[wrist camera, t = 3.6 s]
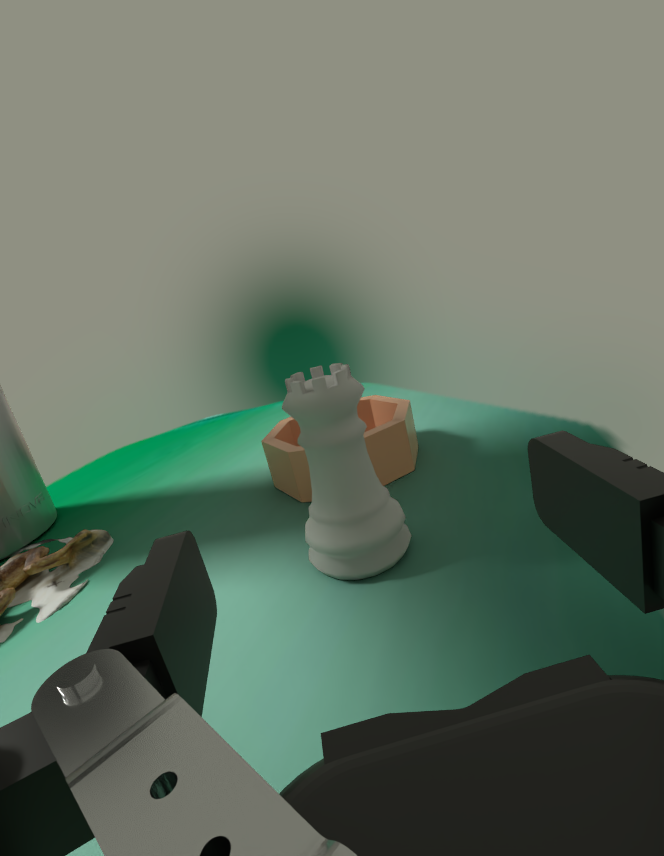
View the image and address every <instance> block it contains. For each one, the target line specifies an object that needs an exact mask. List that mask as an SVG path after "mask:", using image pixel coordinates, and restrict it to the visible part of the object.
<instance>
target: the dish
mask: <svg viewBox="0 0 664 856" xmlns="http://www.w3.org/2000/svg"><path fill="white" fill-rule="evenodd" d="M357 414H358V417H359V418H360V419H361V420H362V421H364V422H365V423H366V426H367V427H366V430H365V432H364V434H363V435H364V440H365V444H366V448H367V452H368V455H369V457H370V460H371V463H372V465H373V468H374V471H375V473H376V475H377V477H378V479H379V481H380V483H381V484H382V486H384V485H386V484H388V483H390V482H392V481H394V480H396V479H398V478H400V477H402V476H404V475H406V474H408V473H410V472H412V471H414V470H415V465H416V459H417V453H418V441H417V435H416V430H415V425H414V420H413V415H412V410H411V404H410V400H404V399H397V398H391V397H384V396H378V395H373V396H367V397H361V398H360V401H359V403H358V405H357ZM300 433H301V431H300V427H299V424H298V422H297V421H296V420H295V419H294V418H292V417H289V418H287V419H284V420H282V421H280V422H279V423H278V424H277V425H276V426H275V427H274V428H273V429H272V430H271V431H270V432H269V434H268V435H267V436H266V437H265V438H264V439H263V440H262V441H261V442H262V445H263V448H264V452H265V455H266V459H267V462H268V465H269V469H270V472H271V476H272V479H273V482H274V486H275V487H276V488H278V489H279V490H281V491H283V492H285V493H286V494H288V495H290V496H291V497H293V498H295V499H297V500H298V501H300V502H312V487H311V479H310V470H309V464H308V460H307V457H306V453H305V449H304V448H303V447H301V446H300V445H299V444H298V437H299V435H300Z"/></svg>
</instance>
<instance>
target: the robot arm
mask: <svg viewBox="0 0 664 856" xmlns="http://www.w3.org/2000/svg"><path fill="white" fill-rule="evenodd" d="M528 456H529V465H530V473H531V481H532V490H533V498H534V504H535V507H536V510H537V513H538V515H539V517H540V519H541V520H542V522H543V523H544V524H545V525H546V526H547V527H548V528H549V529H550V530H551V531H552V532H553V533H554V534H556V535H557V536H558V537H559V538H560V539H561V540H562V541H564V542H565V543H566V544H567V545H568V546H569V547H570V548H571V549H573V550H574V551H575V552H576V553H577V554H578V555H579V556H580V557H582V558H583V559H584V560H585V561H586V562H587V563H588V564H589V565H591V566H592V567H593V568H594V569H595V570H596V571H597V572H598V573H600V574H601V575H602V576H603V577H604V578H605V579H606V580H607V581H609V582H610V583H611V584H612V585H613V586H614V587H615V588H616V589H618V590H619V591H620V592H621V593H622V594H623V595H624V596H626V597H627V598H628V599H629V600H630V601H631V602H632V603H633V604H635V605H636V606H637V607H638V608H639V609H640V610H641V611H642V612H644V613H645V614H646V613H649V612H653V611H656V610H660V609H663V608H664V473H663V472H661V471H659V470H657V469H655V468H653V467H651V466H650V467H648V466H647V464H645V463H643V462H641V461H639V460H637V459H635V460H633V458H632V457H630V456H628V455H626V454H624V453H622V452H620V451H618V450H616V449H613V448H608V447H603V446H599V445H594V444H589V443H587V442H585V441H583V440H581V439H579V438H577V437H576V436H574V435H572V434H570V433H568V432H566V431H559V432H555V433H552V434H548V435H544V436H540V437H537V438H533V439H531V440H530V441H529V443H528ZM56 518H57V511H56V509H55V506H54V504H53V502H52V500H51V497H50V495H49V493H48V491H47V489H46V486H45V484H44V482H43V480H42V477H41V475H40V473H39V471H38V468H37V466H36V464H35V461H34V459H33V457H32V454H31V452H30V450H29V448H28V445H27V443H26V441H25V439H24V437H23V434H22V432H21V430H20V428H19V426H18V423H17V421H16V419H15V417H14V414H13V412H12V410H11V408H10V406H9V403H8V401H7V399H6V397H5V394H4V392H3V390H2V388H1V385H0V559H2V558H4V557H6V556H8V555H9V554H11V553H13V552H15V551H16V550H18V549H20V548H22V547H23V546H25V545H26V544H28V543H30V542H31V541H33V540H34V539H36V538H37V537H38V536H40V535H41V534H42V533H43V532H45V531H46V530H47V529H48V528H49V527H50V526H51V525H52V524H53V523H54V521H55V519H56ZM106 613H107V615H104V617H103V620H102V622H101V624H100V626H99V628H98V630H97V632H96V634H95V636H94V638H93V640H92V642H91V644H90V646H89V648H88V651H87V653H86V654H84V655H81V656H79V657H77V658H75V659H73V660H72V661H70V662H68V663H67V664H65V665H64V666H62V667H61V668H59V669H58V670H57V671H56V672H54V673H53V674H52V675H51V676H50V677H49V678H48V679H47V680H46V681H45V682H44V683H43V684H42V685H41V687H40V688H39V690H38V691H37V692H36V694H35V696H34V698H33V701H32V706H31V710H32V712H30V713H29V714H27V715H25V716H23V717H21V718H19V719H17V720H15V721H13V722H11V723H9V724H7V725H5V726H3V727H1V728H0V856H65V855H67V854H69V853H70V852H72V851H74V850H75V849H77V848H78V847H80V846H82V845H83V844H85V843H87V842H88V841H90V840H92V839H93V838H96V840H97V842H98V844H99V846H100V848H101V850H102V852H103V854H104V856H664V680H659V679H655V678H648V677H640V676H627V675H606V673H605V672H604V671H603V670H602V669H601V668H600V666H599V665H598V664H597V663H596V662H595V661H594V659H593V658H592V657H591V656H590V655H586V656H583V657H580V658H576V659H573V660H569V661H566V662H563V663H559V664H556V665H552V666H549V667H545V668H542V669H539V670H535V671H532V672H528V673H525V674H523V675H521V676H520V677H518V678H516V679H515V680H513V681H511V682H509V683H508V684H506V685H504V686H503V687H501V688H499V689H497V690H496V691H494V692H492V693H491V694H489V695H487V696H486V697H484V698H482V699H480V700H479V701H477V702H475V703H474V704H472V705H470V706H468V707H466V708H462V709H456V710H439V711H422V712H406V713H389V714H385V715H382V716H378V717H375V718H371V719H368V720H364V721H361V722H358V723H354V724H351V725H347V726H344V727H341V728H337V729H334V730H330V731H327V732H323V733H321V739H322V748H323V756H324V759H322V760H320V761H319V762H317V763H315V764H314V765H312V766H311V767H309V768H308V769H307V770H305V771H304V772H303V773H301V774H300V775H299V776H297V777H296V778H295V779H294V780H293V781H292V782H291V783H290V784H289V785H287V786H286V787H285V788H284V789H283V790H282V791H281V792H280V794H278V793H277V792H276V791H275V790H274V789H273V788H272V787H271V786H270V785H269V784H268V783H267V782H266V781H265V780H264V779H263V778H262V777H261V776H260V775H259V774H258V773H257V772H256V771H255V770H254V769H253V768H252V767H251V766H250V765H249V764H248V763H247V762H246V761H245V760H244V759H243V758H242V757H241V756H240V755H239V754H238V753H237V752H236V751H235V750H234V749H233V748H232V747H231V746H230V745H229V744H228V743H227V742H226V741H225V740H224V739H223V738H222V737H221V736H220V735H219V734H218V733H217V732H216V731H215V730H214V729H213V728H212V727H211V726H210V725H209V724H208V723H207V722H206V721H205V720H204V719H203V718H202V711H203V704H204V697H205V691H206V684H207V677H208V671H209V664H210V657H211V651H212V644H213V637H214V631H215V624H216V617H217V606H216V599H215V594H214V590H213V587H212V584H211V582H210V579H209V576H208V573H207V571H206V568H205V565H204V562H203V559H202V557H201V554H200V551H199V548H198V546H197V543H196V540H195V538H194V536H193V534H192V533H191V532H190V531H189V530H188V531H184V532H181V533H177V534H173V535H170V536H166V537H162V538H158V539H156V540H155V541H154V543H153V546H152V548H151V550H150V553H149V555H148V557H147V560H146V562H145V564H144V565H140V566H137V567H135V568H134V569H133V570H132V571H131V572H130V573H129V574H128V575H127V576H126V577H125V578H124V579H123V581H122V582H121V583H120V584H119V586H118V589H117V591H116V593H115V595H114V597H113V601H112V602H111V603H110V605H109V607H108V609H107V611H106Z"/></svg>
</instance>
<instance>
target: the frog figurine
mask: <svg viewBox="0 0 664 856" xmlns="http://www.w3.org/2000/svg"><path fill="white" fill-rule="evenodd" d="M54 540H58V541H60V542H64V543H66V546H64V547H63V548H62V549H60V550H58V551H57V552H55V553H52V554H50V555H48V553H49V548H46V547H44V546H41V547H37V546H39V545H41V544H43V543H47V542H51V541H54ZM112 543H113V538H112V537H111V536H110V534H109V533H108V532H107V531H105V530H97V529H96V530H90V531H89V530H83V531H81V532H79V533H78V534H77V535H76V536H75V537H74V538H72V537H68V538H66V539H49V540H44V541H41V542H39V543H36V544H32V545H28V546H23V547H22V548H20V549H18V550H16V551H15V552H13V553H11V554H9V555H8V556H6V557H4V558H7V557H10V556H13V555H15V554H16V555H15V556H13V557H11V558H10V559H8V561H6V562H5V563H4V564H3V565H2V566H0V616H1V615H2V614H3V612H4V611H5V609H6V608H9V607H12V606H15V605H18V604H21V603H24V602H27V601H29V600H32V604H31V605H32V607H36V608H39V609H40V611H39V614H38V616H37V619H36V622H37V623H39V622H41V621H43V620H45V619H46V618H48V617H49V616H51V615H52V614H53V613H55V612H56V611H57V610H59V609H60V608H61V607H63V606H64V605H65V604H67V603H68V602H69V601H70V600H71V599H72V598H73V597H74V596H75V595H76V594H77V593H78V592H79V591H80V590H81V589H82V588H83V587H84V585H85V584H86V583H87V581H88V580H86V581H85V582H84V583H82V584H79V585H77V586H75V587H72V588H70V585H71V583H72V582H74V581H75V580H76V579H77V578H78V577H79V576H77V575H78V574H79V573H81V572H83V571H85V570H87V569H89V568H90V567H92V566H94V565H96V564H97V563H99V562H100V561H101V558H102V557H103V554H105V553H106V551H107V550H108V549H109V547H110V546H111V545H112ZM34 547H37V548H34ZM31 548H33V549H31ZM28 549H30V550H28ZM23 550H28V551H26V552H24V553H20V552H22V551H23ZM18 553H20V554H18ZM47 555H48V556H47ZM4 558H2V559H4ZM0 560H1V559H0ZM57 566H58V567H57ZM54 567H57V568H56V569H55V570H53V571H52V572H49V569H51V568H54ZM22 620H23V618H21V619H19V620H18V621H16V622H14V623H11V624H4V625H0V643H1V642H4V641H5V640H6V639H7V637H8V636H9V635H10V634H11V633H12V631H13V628H14V626H15V625H16V624H18V623H19V622H21V621H22Z"/></svg>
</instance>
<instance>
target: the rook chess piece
mask: <svg viewBox="0 0 664 856" xmlns="http://www.w3.org/2000/svg"><path fill="white" fill-rule="evenodd" d="M330 370H331V375H326V376H324V373H323V369H322V366H318V367H314V368H310V371H311V375H312V379H310V380H308V381H305V379H304V375H303V373H302V372H298V373H296V374H293V375H291V378H289V379H285V383H286V387H287V391H288V393H287V395H286V398H285V400H284V402H283V405H282V409H283V410H284V411H285V412H286V413H287V414H289V415H290V416H291V417H292V418H294V419H295V420H296V421H297V422H298V424H299V427H300V431H301V433H300V435H299V437H298V444H299V445H300V446H301V447H303V448H304V449H305V453H306V457H307V460H308V464H309V470H310V479H311V487H312V503H311V505H310V506H309V516H310V517H309V518H308V520H307V522H306V523H305V542H306V543H307V544H308V545H309V546H310V548H309V561H310V562H311V563H312V564H313V565H314V566H315V567H316V568H317V569H318V570H319V571H321V572H322V573H324V574H325V575H327V576H330V577H333V578H336V579H339V580H360V579H364V578H368V577H372V576H376V575H378V574H380V573H382V572H384V571H386V570H388V569H390V568H392V567H393V566H394V565H395V564H396V563H397V562H398V561H399V560H400V559H401V558H402V557H403V555H404V553H405V551H406V550H407V548H408V545H409V542H410V539H411V533H410V531H409V529H408V526H407V525H405V524H404V521H405V518H406V517H405V514H404V512H403V510H402V508H401V506H400V504H399V502H398V501H397V500H395V499H394V498H392V497H390V493H389V491H388V489H387V488H386V487H384V486H382V484H381V483H380V481H379V479H378V477H377V475H376V473H375V471H374V468H373V465H372V463H371V460H370V457H369V455H368V452H367V448H366V444H365V440H364V435H363V434H364V432H365V430H366V427H367V426H366V423H365V422H364V421H362V420H361V419H360V418H359V417H358V414H357V405H358V403H359V401H360V398H361V396H362V393H363V391H364V387H363V385H362V384H360V383H359V382H358V381H357V380H355V379H354V378H353V377H352V376H351V372H350V368H349V365H348V364H346V365H342V363H337V364H332V365H330Z"/></svg>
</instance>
